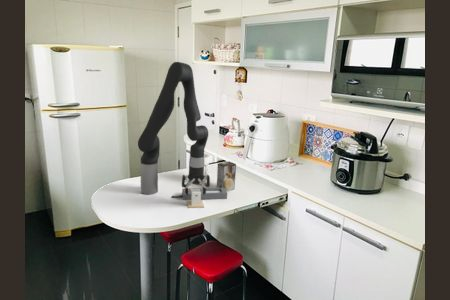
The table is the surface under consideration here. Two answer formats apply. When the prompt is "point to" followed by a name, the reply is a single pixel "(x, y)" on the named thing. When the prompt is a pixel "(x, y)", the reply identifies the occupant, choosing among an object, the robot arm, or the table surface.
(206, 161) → the cup
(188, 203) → the cork mat
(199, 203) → the charger
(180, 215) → the table surface
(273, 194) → the table surface
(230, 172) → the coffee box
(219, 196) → the power strip
